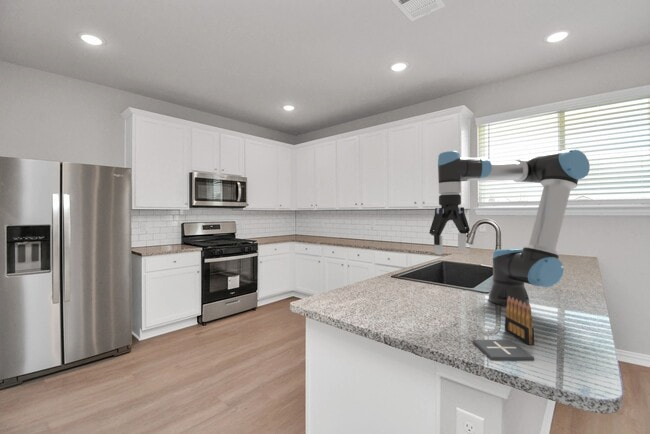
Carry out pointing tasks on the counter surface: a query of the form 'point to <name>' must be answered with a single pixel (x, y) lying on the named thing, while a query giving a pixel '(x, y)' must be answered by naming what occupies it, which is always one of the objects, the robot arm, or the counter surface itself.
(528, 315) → the ammunition clip
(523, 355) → the mat
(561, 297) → the counter surface
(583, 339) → the counter surface
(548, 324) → the counter surface
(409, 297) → the counter surface
